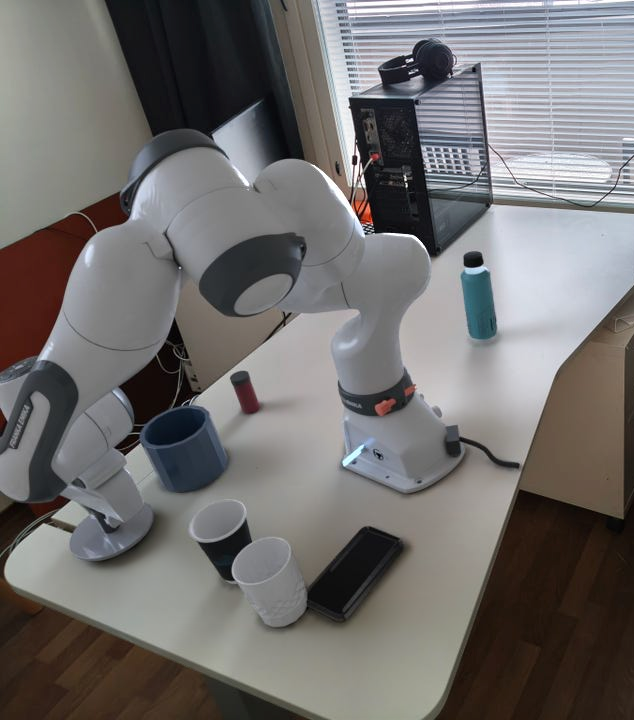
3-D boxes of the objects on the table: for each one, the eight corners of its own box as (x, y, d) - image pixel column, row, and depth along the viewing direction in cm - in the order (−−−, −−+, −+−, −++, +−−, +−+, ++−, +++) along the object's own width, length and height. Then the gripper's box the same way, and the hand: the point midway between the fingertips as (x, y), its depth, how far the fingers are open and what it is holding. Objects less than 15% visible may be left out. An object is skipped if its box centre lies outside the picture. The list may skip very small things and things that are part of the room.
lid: (168, 528, 111) (153, 500, 108) (88, 577, 104) (70, 549, 101) (137, 493, 119) (122, 466, 116) (61, 537, 112) (44, 510, 109)
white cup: (290, 574, 101) (267, 528, 96) (324, 599, 97) (303, 551, 91) (246, 614, 97) (219, 567, 91) (279, 642, 92) (254, 594, 86)
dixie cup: (249, 542, 108) (228, 491, 102) (277, 567, 103) (256, 515, 97) (203, 574, 103) (178, 523, 97) (230, 602, 98) (205, 550, 92)
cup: (239, 465, 124) (221, 421, 118) (178, 502, 117) (156, 458, 112) (209, 439, 131) (191, 397, 125) (150, 472, 125) (128, 430, 119)
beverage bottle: (495, 346, 147) (486, 261, 136) (465, 345, 149) (453, 261, 138) (501, 330, 152) (492, 246, 141) (471, 330, 154) (460, 247, 143)
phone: (405, 540, 103) (341, 619, 93) (406, 545, 104) (342, 624, 93) (364, 523, 107) (297, 597, 96) (365, 528, 107) (299, 602, 97)
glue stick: (263, 407, 138) (252, 374, 133) (247, 416, 136) (235, 383, 131) (254, 400, 140) (243, 368, 136) (238, 409, 138) (226, 377, 134)
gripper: (8, 451, 105) (50, 516, 112) (94, 486, 96) (133, 553, 103) (46, 426, 109) (83, 490, 117) (131, 457, 100) (166, 524, 108)
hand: (107, 520), depth 110 cm, fingers closed on lid, 2 cm apart
